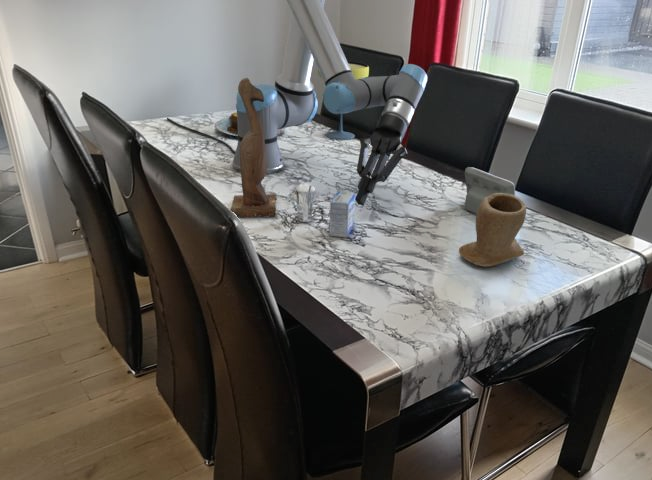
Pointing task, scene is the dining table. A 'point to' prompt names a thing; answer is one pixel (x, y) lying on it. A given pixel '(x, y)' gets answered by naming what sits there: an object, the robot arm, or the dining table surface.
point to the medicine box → (342, 214)
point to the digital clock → (483, 187)
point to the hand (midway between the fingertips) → (359, 202)
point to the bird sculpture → (253, 161)
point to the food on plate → (230, 125)
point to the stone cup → (496, 231)
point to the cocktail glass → (358, 72)
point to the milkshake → (305, 202)
